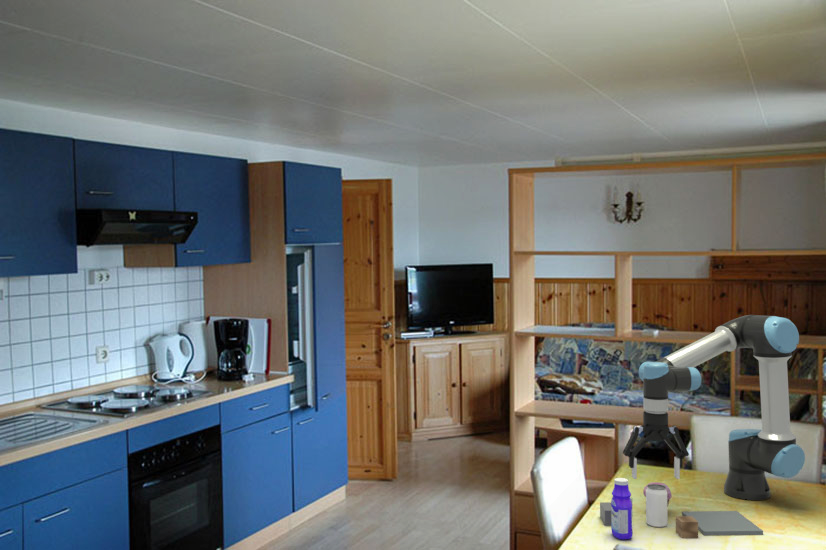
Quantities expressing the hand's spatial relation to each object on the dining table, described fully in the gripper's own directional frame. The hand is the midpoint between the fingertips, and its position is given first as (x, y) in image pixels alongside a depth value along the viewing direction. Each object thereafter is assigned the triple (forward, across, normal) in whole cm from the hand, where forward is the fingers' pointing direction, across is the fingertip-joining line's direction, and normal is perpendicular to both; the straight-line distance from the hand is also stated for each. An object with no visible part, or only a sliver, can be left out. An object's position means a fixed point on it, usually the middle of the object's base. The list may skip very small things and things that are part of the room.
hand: (655, 478), depth 229 cm
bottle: (+15, +14, +10) cm, 23 cm away
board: (+14, -20, +1) cm, 25 cm away
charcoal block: (+15, +14, -3) cm, 21 cm away
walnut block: (+15, -6, +9) cm, 19 cm away
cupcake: (+15, -4, -11) cm, 19 cm away
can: (+15, 0, 0) cm, 15 cm away
